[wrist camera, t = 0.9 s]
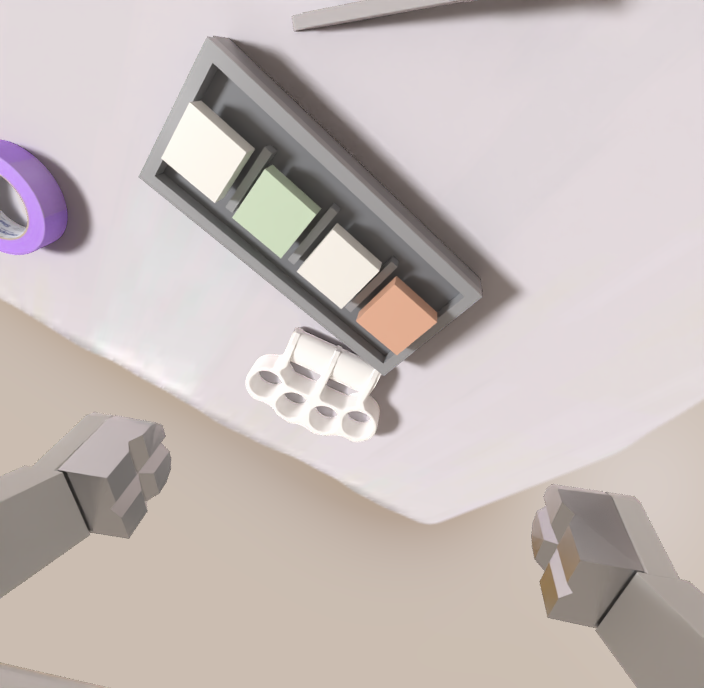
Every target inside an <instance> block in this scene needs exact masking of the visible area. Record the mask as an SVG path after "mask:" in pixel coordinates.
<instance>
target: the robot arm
mask: <svg viewBox="0 0 704 688" xmlns="http://www.w3.org/2000/svg"><path fill="white" fill-rule="evenodd" d="M165 436H166V435H165V432H164V429H163V426H162V425H161V424H158V423H155V422H149V421H144V420H138V419H133V418H127V417H122V416H116V415H115V416H114V415H109V414H104V413H98V412H93V413H90V414H87V415H86V416H84V418H83V419H81V420H80V421H79V422H78V423H77V424H76V425H75V426H74V427H73V428H72V429H71V430H70V431H69V432H68V433H66V434H65V436H63V437H62V438H61V439H60V440H59V441H58V442H57V443H56V444H55V445H54V446H53V447H52V448H51V449H50V450H48V451H47V452H46V453H45V454H44V455H43V456H42V457H41V458H40V459H39V460H38V461H37V462H36V463H35V464H34V465H33V466H22V467H20V468H18V469H16V470H13V471H11V472H9V473H7V474H4V475H2V476H0V598H2V597H3V596H4V595H6V594H7V593H9V592H10V591H11V590H13V589H14V588H16V587H17V586H18V585H20V584H21V583H23V582H24V581H26V580H27V579H28V578H30V577H31V576H32V575H34V574H36V573H37V572H38V571H40V570H41V569H42V568H44V567H45V566H47V565H48V564H50V563H51V562H53V561H54V560H55V559H57V558H58V557H60V556H61V555H62V554H64V553H65V552H67V551H68V550H70V549H71V548H72V547H74V546H75V545H77V544H78V543H79V542H81V541H82V540H84V539H85V538H86V537H88V536H89V535H90V533H96V534H103V535H109V536H116V537H122V538H128V539H129V538H130V536H131V535H132V533H133V532H134V530H135V529H136V527H137V526H138V524H139V523H140V521H141V520H142V519H143V517H144V516H145V514H146V512H147V501H148V500H149V499H151V498H152V497H154V496H156V495H158V494H159V493H160V491H161V490H162V488H163V487H164V485H165V484H166V482H167V479H168V476H169V473H170V470H171V456H170V452H169V450H168V449H167V448H166V447H165V446H164V445H163V444H162V443H161V442H162V441H163V439H164V438H165ZM544 500H545V505H546V506H545V507H544V508H542V509H540V510H538V511H537V512H536V515H535V518H534V520H533V525H532V534H531V538H532V549H533V554H534V558H535V560H536V561H537V563H538V564H539V565H540V566H541V567H542V569H543V570H544V571H545V572H544V574H543V576H542V578H541V580H540V586H541V590H542V595H543V599H544V604H545V608H546V612H547V617H548V618H551V619H556V620H561V621H565V622H570V623H574V624H579V625H584V626H588V627H593V628H597V629H596V632H597V633H598V635H599V636H600V638H601V639H602V640H603V642H604V643H605V644H606V646H607V647H608V649H609V650H610V651H611V653H612V654H613V655H614V657H615V658H616V659H617V661H618V662H619V664H620V665H621V666H622V668H623V669H624V670H625V672H626V673H627V675H628V676H629V677H630V679H631V680H632V682H633V683H634V684H635V686H636V687H637V688H704V594H703V593H702V592H701V591H700V590H699V589H698V588H696V587H695V586H694V585H693V584H692V583H691V582H690V581H687V580H682V579H680V578H679V576H678V574H677V573H676V571H675V569H674V567H673V565H672V563H671V561H670V559H669V557H668V555H667V553H666V551H665V549H664V547H663V545H662V543H661V541H660V539H659V537H658V536H657V534H656V532H655V530H654V528H653V526H652V524H651V522H650V520H649V518H648V516H647V514H646V512H645V510H644V508H643V506H642V504H641V503H640V501H639V500H638V499H637V498H636V497H635V496H630V495H623V494H616V493H609V492H603V491H597V490H590V489H583V488H576V487H569V486H562V485H555V484H551V485H550V486H549V487H548V488H547V490H546V492H545V494H544ZM89 532H90V533H89ZM0 688H109V687H105V686H100V685H96V684H92V683H87V682H83V681H79V680H74V679H70V678H66V677H61V676H57V675H53V674H48V673H44V672H40V671H35V670H31V669H27V668H22V667H18V666H14V665H9V664H5V663H1V662H0Z"/></svg>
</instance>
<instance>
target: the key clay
mask: <svg viewBox="0 0 704 688" xmlns="http://www.w3.org/2000/svg"><path fill="white" fill-rule="evenodd" d="M356 322H357V323H359V324H360V325H361V326H362V327H363V328H365V329H366V330H367V331H368V332H369V333H371V334H372V335H373V336H374V337H375V338H377V339H378V340H379V341H380V342H381V343H383V344H384V345H385V346H386V347H387V348H389V349H390V350H391V351H392V352H393V353H394V354H396V355H398V354H399V353H400V352H402V351H403V350H404V349H405V348H407V347H408V346H409V345H410V344H411V343H413V342H414V341H415V340H416V339H418V338H419V337H420V336H421V335H422V334H424V333H425V332H426V331H427V330H428V329H430V328H431V327H432V326H433V325H435V324H436V323H437V312H436V311H435V310H434V309H433V308H432V307H431V306H430V305H428V304H427V303H426V302H425V301H424V300H423V299H422V298H421V297H420V296H418V295H417V294H416V293H415V292H414V291H413V290H412V289H411V288H410V287H408V286H407V285H406V284H405V283H404V282H403V281H402V280H401V279H400V278H398V277H397V276H396V277H395V278H394V279H393V280H392V281H391V282H389V283H388V284H387V285H386V286H385V287H384V288H383V289H382V290H381V291H380V292H379V293H378V294H377V295H376V296H375V297H374V298H373V299H372V300H371V301H370V302H369V303H368V304H367V305H366V306H364V307H363V308H362V309H361V310H360V311H359V313H358V316H357V319H356Z"/></svg>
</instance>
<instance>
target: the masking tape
mask: <svg viewBox="0 0 704 688" xmlns="http://www.w3.org/2000/svg"><path fill="white" fill-rule="evenodd" d="M0 176H2V177H3V178H4V179H5V180H6V181H7V182H8V183H9V184H10V185H11V186H12V187H13V188H14V189H15V190H16V192H17V193H18V195H19V196H20V198H21V200H22V202H23V204H24V206H25V209H26V213H27V227H24V226H21V225H19V224H17V223H15V222H14V221H12V220H11V219H10V218H8V217H7V216H6V215H5V214H4V213H3V212H2V211H1V210H0V251H1V252H4V253H8V254H14V255H24V254H28V253H31V252H34V251H36V250H38V249H40V248H42V247H44V246H46V245H48V244H50V243H53V242H55V241H56V240H57V239H59V238H60V237H61V236H62V235H63V233H64V231H65V229H66V226H67V220H68V214H67V207H66V203H65V200H64V196H63V194H62V191H61V189H60V187H59V185H58V184H57V182H56V180H55V179H54V177H53V176H52V174H51V173H50V172H49V171H48V169H47V168H46V167H45V166H44V165H43V164H42V163H41V162H40V161H39V160H38V159H37V158H36V157H35V156H33V155H32V154H31V153H29V152H28V151H27V150H25V149H24V148H22V147H20V146H18V145H16V144H14V143H11V142H8V141H5V140H0Z"/></svg>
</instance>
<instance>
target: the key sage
mask: <svg viewBox="0 0 704 688" xmlns="http://www.w3.org/2000/svg"><path fill="white" fill-rule="evenodd" d="M321 209H322V208H320V207H319V206H318V205H317V204H316V203H315V202H314V201H313V200H311V199H310V198H309V197H308V196H307V195H306V194H305V193H304V192H303V191H301V190H300V189H299V188H298V187H297V186H296V185H295V184H294V183H293V182H291V181H290V180H289V179H288V178H287V177H286V176H285V175H284V174H283V173H281V172H280V171H279V170H278V169H277V168H276V167H275V166H274V165H271V166H269V167H268V168H266V169H265V170H264V171H263V172H262V174H261V175H260V177H259V178H258V180H257V181H256V183H255V184H254V186H253V187H252V189H251V190H250V192H249V193H248V195H247V196H246V198H245V199H244V201H243V202H242V204H241V205H240V207H239V208H238V210H237V211H236V213H235V214H234V216H233V217H232V218H233V219H234V220H235V221H237V222H238V223H239V224H240V225H241V226H243V227H244V228H245V229H246V230H247V231H249V232H250V233H251V234H252V235H253V236H255V237H256V238H257V239H258V240H259V241H261V242H262V243H263V244H264V245H265V246H266V247H268V248H269V249H270V250H271V251H272V252H274V253H275V254H276V255H277V256H278V257H280V258H282V257H283V255H284V254H285V253H286V252H287V251H288V249H289V248H290V247H291V246H292V244H293V243H294V242H295V241H296V240H297V238H298V237H299V236H300V235H301V233H302V232H303V231H304V230H305V228H306V227H307V226H308V225H309V223H310V222H311V221H312V220H313V218H314V217H315V216H316V215H317V214H318V212H319V211H320V210H321Z"/></svg>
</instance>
